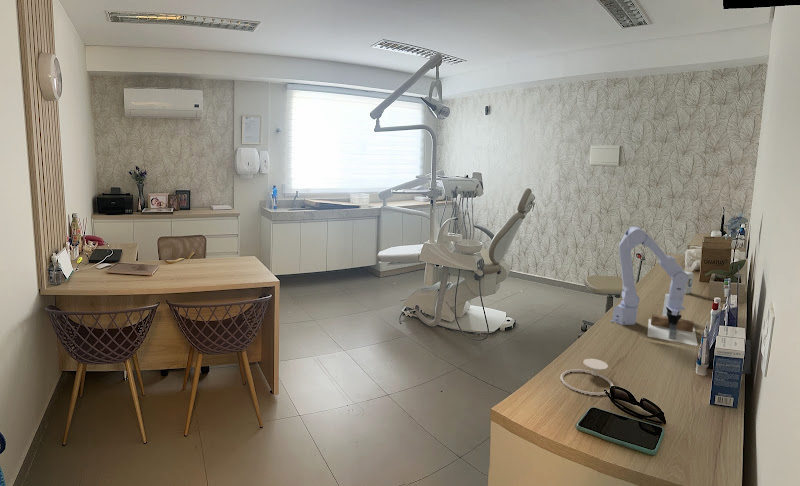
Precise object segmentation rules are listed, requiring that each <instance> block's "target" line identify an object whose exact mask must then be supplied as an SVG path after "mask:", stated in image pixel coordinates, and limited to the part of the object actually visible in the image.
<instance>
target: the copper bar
mask: <svg viewBox="0 0 800 486" xmlns="http://www.w3.org/2000/svg"><path fill="white" fill-rule="evenodd" d="M650 319H651V325H655V326H661V327H666V328H669V321H668V317H665V316H662V315H658V314H654V313H652V314H651V318H650ZM694 325H695V322H694V321H693V320H688V319H684V318H683V319H681V318H680V319H679V320H678V322H677V325H676V327H677V329H678V330H683V331H689V332H693V327H695V326H694Z"/></svg>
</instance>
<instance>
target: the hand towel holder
mask: <svg viewBox="0 0 800 486" xmlns="http://www.w3.org/2000/svg"><path fill="white" fill-rule="evenodd" d="M582 362H583V365H585V367H587V368H589V369H591V370H589V369H580V368H573V369H567V370H564V371H563V372H562V373H561V375H560V376H559V380H560V382H561V381H562V382H561V383H562V384H563V385H564V384H565V385H566V386H567V387H566V386H565V385H564V386H565V387H566V388H568V387H569V388H570V389H569V388H568V389H569V390H571V389H572V390H571V391H573V390H575V391H574V392H576V391H578V392H581V393H580V394H582V393H584V394H583V395H586V394H589V395H588V396H592V395H597V396H596V397H599V396H600V395H603V396H606V394H605V392H606V391H602V392H597V391H596V392H593V391H592V392H591V391H585V390H582V389H578V388H576V387H574V386H571V385H570V384H568V382H566V381H565V380H564V377H565V374H566V375H567V373H568V374H571V373H570V372H572V373H583V372H585V373H584V374H589V375H592V376H593V375H594V376H593V377H598V376H599V377H598V378H601V379H603V380H605V381H606V382H607V383H608V384H609V386H610V387H611V386H614V387H615V385H614V383H613V382H612V380H611V379H610V378H608V377H607V376H606V375H603V374H601V373H599V372H598V371H605V370H607V368H608V367H609V365H608V363H607V362H606V361H603V360H600V359H596V358H585V359H584V360H583V361H582ZM578 392H577V393H578ZM607 392H609V390H607ZM600 397H601V396H600Z"/></svg>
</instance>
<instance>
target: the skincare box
mask: <svg viewBox="0 0 800 486" xmlns="http://www.w3.org/2000/svg"><path fill="white" fill-rule="evenodd" d="M668 296H669V293H665V295H664V300H663V301H664V303H663V309H662V314H661V316H665V317H668V316H667V312H668V311H667V308H666V306H667V303H668ZM678 315H681V311H680V312H679V313H678Z"/></svg>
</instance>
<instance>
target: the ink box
mask: <svg viewBox="0 0 800 486" xmlns="http://www.w3.org/2000/svg"><path fill="white" fill-rule="evenodd" d="M683 271H684V272H685V273H686V274H687V275H688V279H689V280H688V282H687V283H686V285H685V292H684V295H689V294H692V289H693V282H694V276H695V275H694V272H691V271H689V270H688V271H687V270H684V269H683Z"/></svg>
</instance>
